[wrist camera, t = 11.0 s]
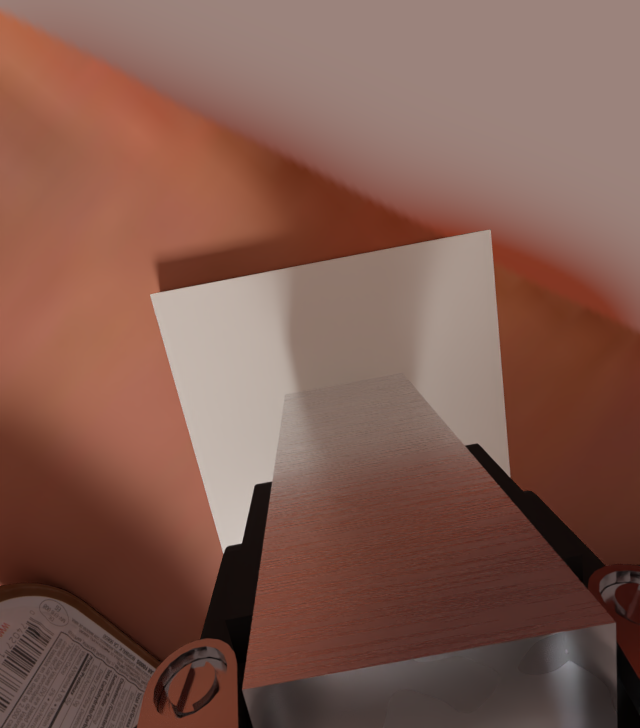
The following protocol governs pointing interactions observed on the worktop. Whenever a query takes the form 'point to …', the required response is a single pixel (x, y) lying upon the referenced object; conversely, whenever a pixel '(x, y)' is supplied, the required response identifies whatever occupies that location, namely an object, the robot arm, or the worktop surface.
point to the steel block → (412, 583)
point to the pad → (332, 352)
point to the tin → (66, 663)
